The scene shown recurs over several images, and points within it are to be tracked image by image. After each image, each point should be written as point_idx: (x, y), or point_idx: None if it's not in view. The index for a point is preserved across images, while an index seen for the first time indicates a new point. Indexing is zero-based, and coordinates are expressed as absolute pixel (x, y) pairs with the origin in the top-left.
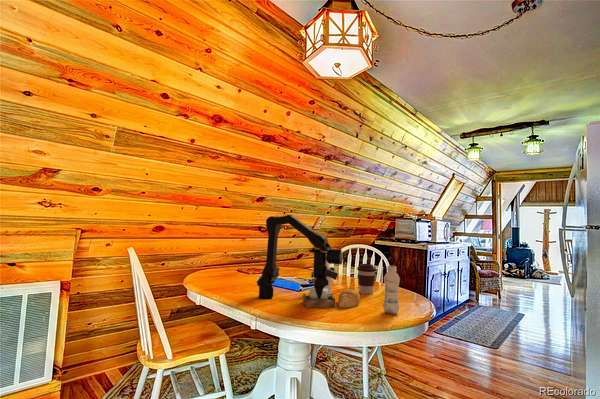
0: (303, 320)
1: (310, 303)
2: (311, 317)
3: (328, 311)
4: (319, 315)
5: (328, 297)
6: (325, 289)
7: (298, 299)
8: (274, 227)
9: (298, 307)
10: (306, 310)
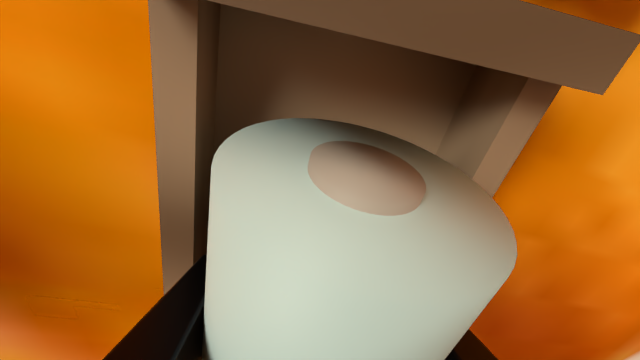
0: (631, 354)
1: None
2: (621, 315)
3: (592, 165)
4: (627, 265)
5: (204, 53)
6: (432, 353)
7: (93, 327)
8: None
9: None
10: None
